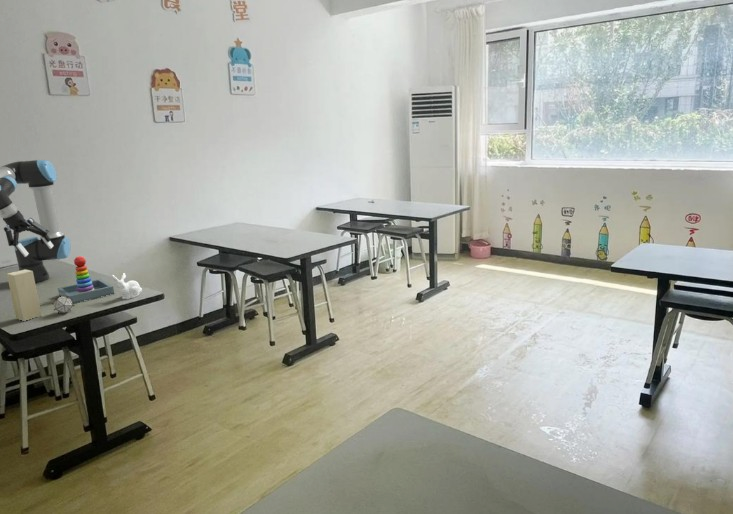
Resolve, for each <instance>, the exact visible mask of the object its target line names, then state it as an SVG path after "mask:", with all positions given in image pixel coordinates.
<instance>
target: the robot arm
mask: <svg viewBox="0 0 733 514" xmlns="http://www.w3.org/2000/svg"><path fill="white" fill-rule="evenodd" d="M54 182H57V171H56V169H55V166H54V165H53V164H52V162H51V161H49V160H45V159H44V160H43V159H35V160H25V161H23V160H21V161H19V160H18V161H14V162H11V163H7V164H4V165H1V166H0V218H2V221H3V222H4V223H5V224H6V225H5V226H4V227H3V231H4V232H5V235H6V241H7V243H8V244H7V245H8V246H9V247H14V252H15V257H16V261H17V266H18V271H21V270H30V271H33V275H34V280H35V283H39V282H43V281H46V280H48V279H50V273H49V272H48V269H47V268H46V267H45V265H44V261H55V260H56V261H57V260H62V259H67V258H68V257H69V255H70V253H71V247H72V246H71V240H70V238H69V237H67V236H65V233H64V232H62V231H61V227H60V223H59V218H58V214H57V209H56V204H55V198H54V196H53V195H54V194H53V190H52V188H53V186H55V185H54V184H55V183H54ZM21 184H23V185H25V184H28V185H27V186H28V188H29V189H31V190H32V192H33V196H34V201H35V206H36V210H37V214H38V220H39V223H38V222H37V221H35V220H34V219H33V217H29V218H28V219H26V218H25V217H24V215H23V214H22V213H21V211H20V210H19V208H18V207H17V206H16V205H15V204H14V202H13V201H12V200H11V199H10V196H11V195H12V194H13V193H14V192H15V191H16V189H17V187H18V185H21ZM12 232H13V233H12ZM22 232H30V233H32V234H36V235H38V236H39V237H38V236H31V237H26V238H24V239H20V240H19V238H20V237H19V236H20V233H22Z"/></svg>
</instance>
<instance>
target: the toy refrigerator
mask: <svg viewBox="0 0 733 514" xmlns="http://www.w3.org/2000/svg"><path fill="white" fill-rule="evenodd" d="M6 277H7V280H8V281H7V282H8V286H9V291H10V297H11V300H12V304H13V309H14V314H15V319H16V320H17V319H19V320H18V321H20V320H22V321H21V322H23V321H24V322H27V321H26V320H28V321H30V320H29V319H31V320H33V319H32V318H34V319H36V318H35V317H38V316H41V317H42V311H41V306H40V301H39V296H38V291H37V286H36V282H35V280H34V275H33V271H30V270H21V271H19V270H18V271H13V272H8V273H7V274H6ZM38 318H39V317H38Z"/></svg>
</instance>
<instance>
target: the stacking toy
mask: <svg viewBox="0 0 733 514" xmlns="http://www.w3.org/2000/svg"><path fill="white" fill-rule="evenodd" d="M73 262H74V265H75V275H76V276H75V278H76V280H75V282H76V284H77V294H78V293H83V292H87V291H91V290H95V289H94V288H93V285H92V281H93V280H92V277H90V276H91V275H90V273H89V270H88V267H87V265H86V262H87V261H86V258H85V257H84V256H80V255H79V256H77V257H75V258H74V259H73Z"/></svg>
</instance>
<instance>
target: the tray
mask: <svg viewBox="0 0 733 514" xmlns="http://www.w3.org/2000/svg"><path fill="white" fill-rule="evenodd" d="M91 281H92V285H93V288H94V289H95V290H91V291H87V292H83V293H78V294H77V283H76V284H70V285H66V286H61V287H58V288H57V290H58V291H57V292H58V296H59V297H60V295H62V296H63V297H67V296H69V297H68V298H69V299H70V300H71V299H73V300H71V301H72V304H73V303H75V304H78V303H77V302H79V303H81V302H80V301H83V302H85V301H84V300H88V301H90V300H89V299H92V300H94V299H93V298H96V299H98V298H97V297H100V298H102V297H101V296H104V297H107V296H106V295H109V296H111V295H110V294H113V295H115V290H114V286H113V285H111V283H108V282H106V281H105V280H103V279H102V278H98V279H94V280H91ZM73 305H74V304H73Z"/></svg>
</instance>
